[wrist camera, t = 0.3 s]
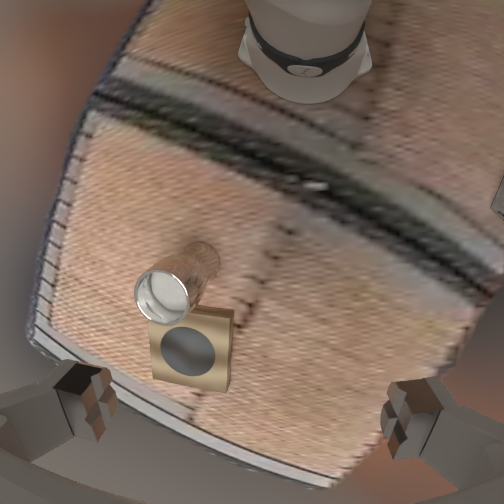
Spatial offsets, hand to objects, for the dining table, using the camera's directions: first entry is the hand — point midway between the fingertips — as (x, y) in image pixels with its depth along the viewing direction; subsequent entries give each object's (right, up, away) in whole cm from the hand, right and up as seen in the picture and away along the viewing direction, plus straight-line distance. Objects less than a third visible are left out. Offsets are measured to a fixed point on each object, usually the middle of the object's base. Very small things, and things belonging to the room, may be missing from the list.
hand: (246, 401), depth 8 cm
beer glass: (-7, +3, +40) cm, 41 cm away
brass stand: (-10, -11, +43) cm, 46 cm away
